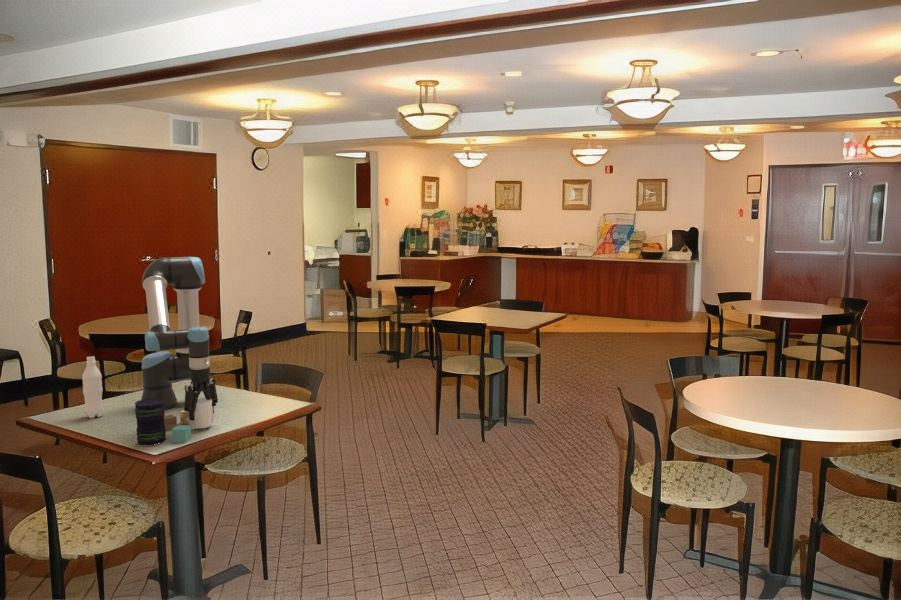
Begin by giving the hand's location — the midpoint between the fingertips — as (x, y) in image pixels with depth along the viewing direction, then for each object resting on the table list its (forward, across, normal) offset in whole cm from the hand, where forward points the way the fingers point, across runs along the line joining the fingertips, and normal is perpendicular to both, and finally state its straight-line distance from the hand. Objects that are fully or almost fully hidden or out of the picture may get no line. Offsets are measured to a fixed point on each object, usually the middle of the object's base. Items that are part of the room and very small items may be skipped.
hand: (202, 425), depth 273 cm
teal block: (+1, -14, -4) cm, 15 cm away
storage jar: (+1, -20, +4) cm, 21 cm away
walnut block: (+2, -6, +12) cm, 13 cm away
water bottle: (+2, -7, +53) cm, 53 cm away
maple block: (+2, +4, +11) cm, 11 cm away
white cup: (+1, 0, 0) cm, 1 cm away
